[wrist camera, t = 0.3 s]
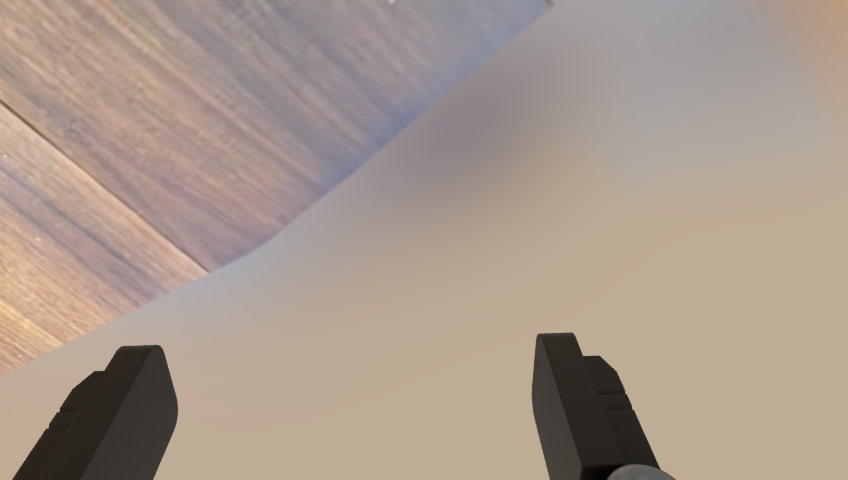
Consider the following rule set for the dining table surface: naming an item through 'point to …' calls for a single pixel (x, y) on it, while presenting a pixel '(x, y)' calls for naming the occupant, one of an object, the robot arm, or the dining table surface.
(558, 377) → the robot arm
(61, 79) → the dining table surface
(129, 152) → the dining table surface
